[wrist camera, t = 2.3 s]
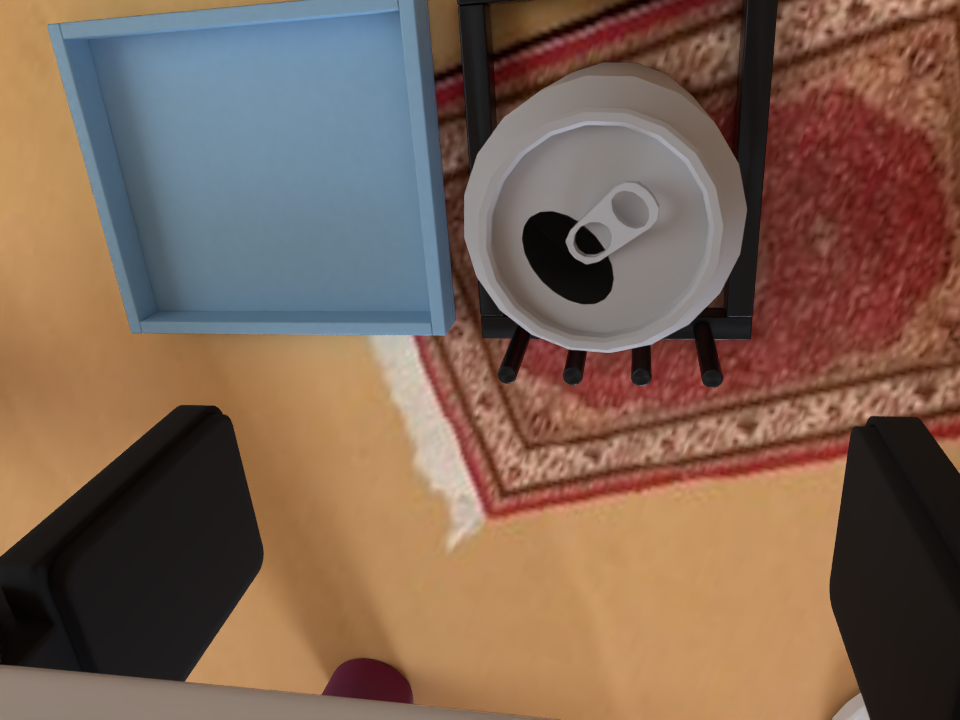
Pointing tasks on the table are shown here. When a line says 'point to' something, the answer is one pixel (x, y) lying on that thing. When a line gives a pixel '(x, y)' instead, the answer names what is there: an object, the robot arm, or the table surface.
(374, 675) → the cup
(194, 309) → the tray
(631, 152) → the can
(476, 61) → the dish rack
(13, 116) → the table surface
